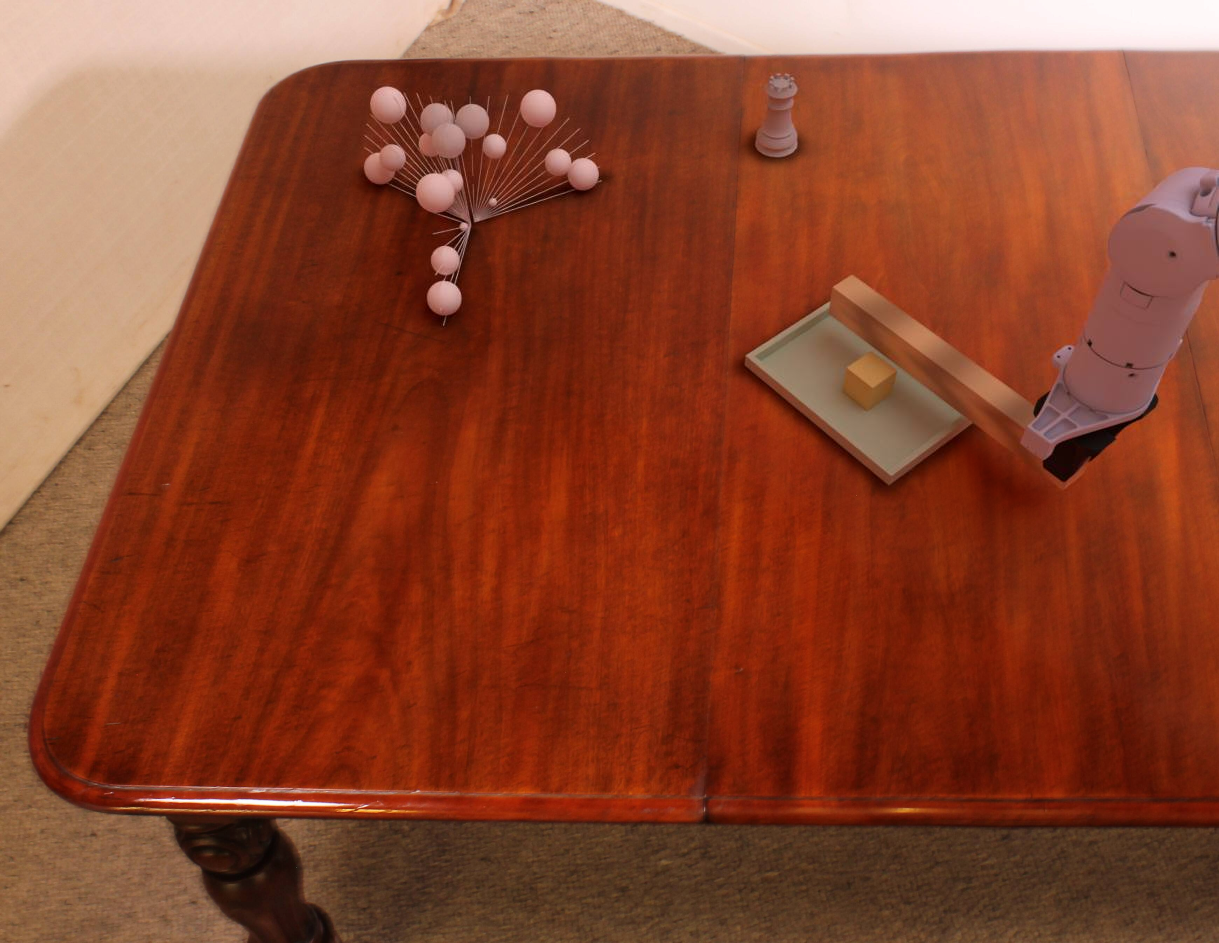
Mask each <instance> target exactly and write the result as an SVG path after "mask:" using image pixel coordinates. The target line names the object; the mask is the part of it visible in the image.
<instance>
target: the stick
mask: <svg viewBox="0 0 1219 943" xmlns="http://www.w3.org/2000/svg"><path fill="white" fill-rule="evenodd" d="M829 301H830V306H829V312H828V313H829V314H830V315H831V316H832V317H834V318H835V319H836V320H838V321H839V322H840V323H842V324H843V325H844V326H846V327H847V328H848V329H850V330H851V331H852V332H854V333H855V334H856V335H857V336H859V337H860V338H861V339H863V340H864V341H865V342H867V343H868V344H869V345H871V346H872V347H873V348H875V349H876V350H877V351H879V352H880V353H881V354H883V355H884V356H885V357H887V358H888V359H889V360H891V361H892V362H893V363H894V364H896V365H897V366H898V367H900V368H901V369H902V370H904V371H905V372H906V373H908V374H909V375H910V376H912V377H913V378H914V379H916V380H917V381H918V382H920V383H921V384H922V385H924V386H925V387H926V388H928V389H929V390H930V391H931V392H933V393H934V394H935V395H937V396H938V397H939V398H941V399H942V400H943V401H945V402H946V403H947V404H949V405H950V406H951V407H953V408H954V409H955V410H957V411H958V412H959V413H961V414H962V415H963V416H965V417H966V418H967V419H968V420H970V421H971V422H972V424H974V425H975V426H976V427H978V428H979V429H980V430H982V431H983V432H984V433H986V434H987V435H988V436H989V437H991V438H992V439H993V440H995V441H996V442H997V443H999V444H1000V445H1001V446H1002V447H1004V448H1005V449H1007V450H1008V451H1009V452H1010V453H1012V454H1013V455H1015V456H1016V457H1017V458H1018V459H1020V460H1021V461H1022V462H1024V463H1025V464H1026V465H1028V467H1031V468H1032V469H1033V470H1035V471H1036V472H1037V473H1038V474H1040V475H1041V476H1042V477H1044V478H1045V479H1046V480H1048V481H1049V482H1050V483H1052V484H1053V485H1054V486H1055V487H1057V488H1058V489H1060V490H1061V491H1064V490H1066V489H1067V488H1068V487H1069V486H1070V485H1072V484H1073V483H1074V482H1075V481H1077V480H1078V479H1079V478H1080V477H1082V476H1083V474H1084V473H1085V470H1086V469H1087V467H1088V465H1089V463H1090V462H1089V460H1090V458H1091V457H1089V458H1088V459H1087V460H1086V461H1085V463H1084V464H1083V465H1082V467H1081V468H1080V469H1079V470H1078V471H1077V472H1076V473H1075V474H1074V475H1073V476H1072V477H1071V478H1069V479H1068V480H1067V481H1066V482H1062V481H1060V480H1059V479H1058V478H1056V477H1055V476H1054V475H1052V474H1051V473H1050V472H1048V471H1047V470H1046V469H1044V468H1043V460H1041V459H1040V458H1039V457H1037V456H1036V455H1034V454H1033V453H1032V452H1030V451H1029V450H1028V449H1027V448H1025V447H1024V446H1023V445H1021V444H1020V442H1021V439H1022V437H1023V434H1024V432H1025V430H1026V427H1027V426H1028V425H1029V424H1030V423H1031V422H1032V421H1033V420H1034V419H1035V416H1034V414H1033V411H1034V407H1035V405H1034V404H1033V403H1031V402H1030V401H1029V400H1027V399H1026V398H1024V397H1023V396H1021V395H1020V394H1019V393H1018V392H1017V391H1014V390H1013V389H1012V388H1011V387H1009V386H1008V385H1006V384H1005V383H1003V382H1002V381H1001V380H1000V379H998V378H997V377H995V376H994V375H993V374H991V373H989V371H987V370H985V369H984V368H983V367H981V366H980V365H978V364H977V363H976V362H974V361H973V360H972V359H970V358H969V357H967V356H966V355H964V354H963V353H962V352H961V351H959V350H958V349H956V348H955V347H954V346H952V345H951V344H949V343H948V342H947V341H945V340H944V339H942V338H941V337H940V336H938V335H937V334H935V333H934V332H933V331H931V330H930V329H929V328H928V327H925V326H924V325H923V324H921V323H920V321H919V322H918V321H917V320H916V319H914V318H913V317H912V316H910V315H909V314H908V313H906V312H905V311H904V310H902V309H900V308H899V307H898V306H897V305H895V304H894V303H892V302H891V301H890V300H889V299H888V298H886V297H884V296H883V295H881V294H880V293H879V292H877V291H876V290H874V289H873V288H872V287H871V286H869V285H868V284H866V283H865V282H864V281H862V280H861V279H859V278H858V277H857V276H855V275H854V274H851V275H849V276H847V277H846V278H844V279H843V280H841V281H840V282H838V283H837V284H835V285H833V286H832V288H831V294H830V299H829ZM1088 462H1089V463H1088Z"/></svg>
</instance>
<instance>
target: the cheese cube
mask: <svg viewBox="0 0 1219 943" xmlns="http://www.w3.org/2000/svg"><path fill="white" fill-rule="evenodd" d="M896 374H897V370H896V369H895V368H893V367H892V366H891V365H889V364H888V363H887V362H886V361H884V360H883V359H882V358H880V357H879V356H878V355H876V354H875V353H874V352H872V351H871V352H869V353H868V354H866V355H865V356H863V357H862V358H860V359H859V360H857V361H856V362H854V363H853V364H851V365H850V366H848V367H847V369H846V374H845V379H844V385H843V390H842V391H843V392H844V393H846V394H847V395H848V396H849V397H851V398H852V399H853V400H854V401H856V402H857V403H858V404H859V405H861V406H862V407H863V408H865V409H866V410H867V411H868V410H869V409H871V408H872V407H874V406H875V405H877V404H878V403H879V402H881V401H882V400H884V399H885V398H886V397H888V396H889V395H891V394H892V391H893V387H894V383H895V379H896Z"/></svg>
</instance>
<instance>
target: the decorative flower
mask: <svg viewBox="0 0 1219 943" xmlns="http://www.w3.org/2000/svg"><path fill="white" fill-rule="evenodd" d="M415 94H416V95H417V98H418V101H419V104H420V106H421V109H422V112H421V114H420V121H419V118H418V117H417V114H416V113H415V111H414V109H413V107H412V105H411V103H410V101H409V99H408V97H407V94H406V93H405V92H403V93H402V92H401V91H399V89H397V88H395V87H392V86H382V87H380V88H378V89H377V90H375V91H374V92H373V93H372V95H371V98H370V100H369V102H370V103H369V104H370V105H369V106H370V111H371V114H370V116H371V117H372V118H373V119H374V121H376V122H377V123H378V125H380V127H381V128H382V130H384V132H385V133H387V134H388V135H389V136H391V134H390V133H389V132H388V131H387V130H386V129H385V128H384V127H383V126H382V125H381V123H383V124H388V125H390V126H391V127H392V128H393V129H394V130H395V131H396V133H397V134H398V136H399V137H401V139H402V141H403V142H404V143H405V145H407V147H408V148H409V149H410V150H411V152H412V153H413V154H414V155H415V156H416V158H417V159H418V161H419V162H420V163H421V164H422V166H423V167H425V170H427V172H428V173H427V174H426V173H425V172H423V173H424V176H423V175H422V174H420V173H419V172H418V171H417V170H416V169H415V168H414V167H413V166H412V165H411V164H410V163H408V162H407V161H406V160H407V157H406V155H407V156H408V158H410V160H412V162H413V163H414V164H416V166H417V167H418V168H419V169H420V170H421V171H423V169H422V168H421V167H420V166H419V165H418V163H416V162H415V161H414V160H413V158H412V157H411V156H410V155H409V154H408V153H407V151H405V150H404V149H403V148H402V146H401V145H400V144H399V143H398V142H397V140H396V139H395V138H393V137H391V138H392V140H394V142H395V143H396V144H397V145H396V144H393V143H392V144H389V143H388V142H387V141H386V140H384V143H386V145H385V146H383V147H382V148H381V147H380V146H379V145H378V144H376V143H375V141H373V140H371V139H370V138H369V137H368V136H367V135H365V137H366V138H367V139H368V140H369V141H371V142H372V143H373V144H374V145H375V146H377V147H378V148H379V149H380V152H372V151H371V150H370V149H368V148H366V147H365V146H364V147H363V148H364V149H365V150H367V151H368V152H370V153H371V154H369V156H368V157H367V158H366V159H365V161H364V163H363V170H364V171H363V172H364V174H365V176H366V178H367V179H368V180H369V181H370V182H371V183H373V184H375V185H385V184H388V185H390V186H392V187H394V188H396V189H398V190H400V191H403V192H405V193H406V194H409V195H411V196H412V197H415V198H416V200H417V202H418V204H419V205H420V207H421V208H423V209H424V210H426V211H427V212H430V213H432V214H435V215H438V216H441V217H444V218H447V219H451V220H453V221H456V222H459V223H460V224H459V227H456V228H452V229H449V230H447V229H446V230H443V231H438V232H433V233H432V235H436V234H440V233H445V232H449V231H453V230H458V229H460V231H461V232H460V233H458V234H457V235H456V236H455V237H453V239H451V240H450V241H449V242H447V243H446V244H445V245H442V246H438V247H436V249H434V251H433V252H432V254H431V256H430V264H431V267H432V269H433V270H434V271H435V272H436V273H435V274H434V275H435V276H437V274H440V275H442V276H445V277H444V279H443V280H440V281H437V282H435V283H433V284H432V285H431V286H430V288H428V291H427V293H426V294H427V295H426V301H427V305H428V307H429V308H430V310H431V311H432V312H433V313H435V314H437V315H438V316H445V317H444V321H443V324H442V326H445V323H446V320H447V316H451V315H452V314H453V315H454V313H456V312H457V311H458V310H459V309H460V306H461V304H462V293H461V290H460V289H459V287H458V286H457V285H456V283H457V278H458V275H459V272H460V268H461V264H462V260H463V257H464V253H465V250H466V247H467V243H468V240H469V235H470V232H471V228H472V221H471V218H470V217H471V216H470V213H469V207H468V202H467V196H466V192H465V186H464V179H463V178H464V177H463V176H462V172H461V166H460V161H459V156H460V155H461V160H462V165H463V171H464V174H465V175H464V176H465V180H466V186H467V190H468V196H469V202H470V207H471V212H472V216H473V223H477V222H480V221H483V220H486V219H489V218H492V217H496V216H499V215H502V214H505V213H508V212H511V211H515V210H517V209H520V208H524V207H526V206H529V205H533V204H535V203H538V202H542V201H545V200H548V199H551V198H554V197H557V196H561V195H563V194H566V193H570V192H572V191H576V190H579V191H587V190H590V189H592V188H593V187H595V186H596V184H598V183H600V182H601V180H599V176H600V175H599V168H600V166H597V164H596V163H595V162H594V161H592V160H591V159H589V158H590V157H592V156H593V155H595V154H596V152H594V153H592V154H591V155H588V156H587V157H580V158H576V159H575V160H573V161H572V158H571V156H570V155H571V154H572V153H573V152H575V151H577V150H578V149H579V148H581V147H582V146H584V145H585V144H587V142H589V141H590V140H589V139H588V140H586V141H585V142H583V144H581V145H580V146H578V147H577V148H575V149H574V150H573V151H571V152H567V151H566V150H564V149H562V148H560V147H561V146H562V145H563V144H564V143H566V142H567V141H568V140H569V139H571V137H572V136H574V135H575V134H576V133H577V132H578V131H579V130H580V129H581V128H578V129H577V130H576V131H574V133H573V134H572V135H570V136H569V137H568V138H567V139H566V140H565V141H563V143H561V144H560V145H559V146H558V147H556V148H554V149H552V150H549V151H548V153H547V154H546V155H545V158H544V160H542V161H541V162H540V163H539V164H538V165H537V166H536V167H534V168H533V169H532V170H531V171H530V172H529V173H527V175H525V176H524V177H523V178H522V179H520V180H519V182H518V183H516V184H515V185H514V186H513V187H512V188H511V189H509V191H507V193H505V194H504V195H503V196H502V197H500V196H501V195H502V193H504V191H505V190H506V189H507V187H504V189H503V190H502V191H501V192H500V193H499V194H498V195H497V197H500V199H498V201H497V198H496V197H495V195H496V194H497V192H498V191H499V189H500V188H502V185H503V184H504V183H505V181H506V180H507V179H508V177H509V176H510V174H511V173H512V172H513V170H514V169H515V167H516V166H517V165H518V163H520V161H521V160H522V158H523V156H524V155H525V153H526V152H527V151H528V150H529V148H530V147H531V146H532V144H533V143H534V141H535V140H536V139H537V137H538V136H539V134H540V133H541V132H542V130H543V129H544V127H547V126H548V125H550V124H551V123H552V122H553V120H554V119H555V116H556V114H557V104H556V101H555V98H553V96H552V95H551V94H550V93H549V92H547V91H546V90H543V89H534V90H530V91H528V92H527V93H526V94H525V95H524V96H523V98H522V99H521V101H520V107H519V111H518V113H517V115H516V118H515V121H514V123H513V126H512V128H511V130H510V132H509V136H508V138H507V141H506V140H505V139H504V137H502V136H501V135H499V131H500V128H501V124H502V120H503V117H504V116H503V115H504V112H505V108H506V104H507V102H508V101H507V100H508V97H509V94H507V95H506V98H505V103H504V106H503V110H502V114H501V117H500V122H499V126H498V129H497V133H491V134H489V135H487V136H486V133H487V131H488V130H489V127H490V117H489V115H488V113H489V112H488V111H489V106H486V109H484V108H483V107H482V106H480V105H479V104H475V103H471V102H472V101H471V100H472V99H471V97H469V104H465V105H464V106H462V107H461V108H460V109H459V110H458V111H457V113H456V116H455V111H454V106H453V101H452V100H450V103H451V108H452V109H450V108H449V105H448V104H447V103H446V101H444V104H443V103H439V102H435V103H433V99H432V96H431V95H429V98H430V102H431V104H428V105H427V106H425V107H423V105H422V102H421V99H420V97H419V95H418V93H417V92H416V93H415ZM405 98H406V99H407V101H406V99H405ZM407 102H408V105H409V106H410V108H411V111H412V112H413V114H414V116H415V118H416V120H417V122H418V124H419V126H420V128H421V130H422V132H423V134H422V135H421V136H419V135H418V133H417V132H416V129H415V128H414V127H413V125H412V122H410V120H409V119H408V117H407V115H406V111H407ZM489 103H490V97H488V99H487V105H489ZM451 110H452V111H451ZM520 114H521V117H522V119H523V120H524V122H525V123H526V124H528V125H527V127H526V129H525V131H524V132H523V133H522V135H521V138H520V139H519V142H518V143H517V145H516V147H515V148H514V150H513V152H512V154H511V155H510V157H509V159H508V160H507V163H506V164H505V166H504V168H503V169H502V171H501V173H500V175H499V177H498V179H497V181H496V182H495V184H494V186H493V187H492V190H491V191H490V193H489V195H488V196H487V193H488V191H489V188H490V186H491V183H492V181H493V179H494V176H495V174H496V171H497V168H498V166H499V164H500V161H501V159H502V157H503V156H504V155H505V153H506V151H507V145H508V142H509V139H510V137H511V135H512V132H513V129H514V127H515V125H516V123H517V120H518V118H519V116H520ZM404 116H405V118H406V120H407V121H408V123H409V125H410V126H411V128H412V129H413V131H414V133H415V134H416V136H417V138H418V146H417V144H416V143H415V141H414V140H413V139H412V137H411V136H410V134H409V133H408V131H407V130H406V128H405V127H404V125H403V124H402V123H401V120H402V119H403V118H404ZM568 120H570V117H568V118H567V120H565V121H564V123H563V124H561V126H560V127H559V128H558V129H557V131H555V132H554V134H552V136H551V137H550V138H549V139H548V140H547V142H549V141H550V140H551V139H552V138H553V137H554V136H555V135H556V134H557V133H558V131H559V130H560V129H561V128H562V127H563V126H564V125H565V124H566V123H567V122H568ZM395 123H399V124H400V126H401V127H402V129H403V130H404V131H405V133H407V134H406V135H408V137H409V139H410V140H411V141H412V143H413V144H414V145H415V147H416V148H417V150H418V151H419V152H420V154H421V155H422V157H423V159H424V160H425V161H426V163H427V164H428V166H429V167H430V169H432V172H433V173H432V172H431V171H429V169H428V168H427V167H426V165H425V164H424V163H423V161H421V159H420V158H419V157H418V156H417V154H416V152H414V150H413V149H412V148H411V147H410V145H409V144H408V143H407V142H406V141H405V140H404V138H403V137H402V136H401V134H400V133H399V131H398V130H397V129H396V128H395V127H394V125H392V124H395ZM366 126H368V127H369V128H370V129H371V130H372V131H374V133H375V134H376V135H377V136H378V137H379V138H381V136H380V134H378V133H377V132H376V131H375V130H374V129H373V128H372V127H371V126H370V125H369V124H368V123H366ZM529 126H530V127H533V128H541V129H540V130H539V132H538V133H537V134H536V136H535V137H534V139H533V140H532V141H531V143H530V144H529V146H528V147H527V148H526V149H525V152H523V154H522V155H521V157H520V158H519V159H518V161H517V163H516V164H515V165H514V167H513V168H512V169H511V171H509V173H508V174H507V176H506V178H505V179H504V180H503V182H501V184H500V186H499V187H498V188H497V190H496V191H495V193H494V194H493V195H492V197H491V194H492V193H493V191H494V189H495V188H496V186H497V183H498V182H499V180H500V178H501V176H502V174H504V172H505V169H506V168H507V165H508V164H509V163H510V160H511V159H512V157H513V155H514V153H515V151H516V150H517V148H518V146H519V144H520V142H521V141H522V139H523V137H524V136H525V134H526V132H527V130H528V128H529ZM482 137H483V141H482V144H481V145H482V151H481V157H484V156H483V155H484V154H485V156H487V157H488V158H489V164H488V167H487V172H486V175H485V178H484V179H485V180H484V183H483V188H482V191H481V194H480V199H479V202H478V201H476V202H475V190H474V189H475V188H474V185H472V197H473V198H472V199H473V201H472V200H471V195H470V189H469V184H468V178H467V174H466V169H465V163H464V159H463V152H464V150H465V148H466V142H467V141H466V139H469V140H470V143H471V146H473V140H478V139H479V138H482ZM546 145H547V143H545V144H544V145H542V147H541V148H540V149H539V150H538V151H537V153H540V151H541V150H542V149H543V148H544V147H545V146H546ZM536 156H537V154H534V156H533V157H532V158H531V159H530V160H529V161H528V162H527V164H530V162H531V161H532V160H533V159H534V158H535V157H536ZM426 157H429V158H430V159H431V161H432V163H433V165H434V166H435V168H436V170H434V169H433V168H432V166H431V165H430V163H429V161H428V160H427V159H426ZM433 157H436V160H437V162H438V164H439V166H440V168H441V170H442V172H440V170H439V168H438V167H437V165H436V163H435V162H434V160H433V159H432V158H433ZM438 157H439V158H438ZM473 158H474V156H473V155H471V168H472V169H471V171H472V173H471V174H472V175H474V163H473V162H474V161H473ZM439 159H440V160H439ZM445 159H447V160H448V162H449V166H450V168H451V169H450V168H448V165H447V163H446V161H445ZM451 159H453V161H454V166H455V169H456V170H455V169H454V168H453V164H452V162H451ZM492 159H493V160H497V159H499V160H498V163H497V165H496V167H495V170H494V172H493V175H492V178H491V180H490V181H489V184H488V187H487V189H486V192H485V195H484V197H483V192H484V189H485V184H486V181H487V178H488V174H489V169H490V166H491V162H492ZM440 161H441V163H442V164H441V163H440ZM406 162H407V165H408V166H409V167H411V168H412V169H413V170H414V171H415V172H416V173H417V174H418V175H419V176H420V177H421V178H420V179H418V178H417V177H416V176H415V175H414V174H412V173H411V172H410V171H409V170H408V169H406V168H405V167H404V166H405V164H406ZM482 162H483V158H481V160H480V165H482V164H483V163H482ZM543 163H544V166H545V169H546V170H545V171H543V172H542V173H541V174H539V175H538V176H536V177H535V178H533V179H532V180H531V181H529V182H528V183H526V184H525V185H524V186H522V187H521V188H519V189H518V190H517V191H515V192H513V194H511V195H510V196H508V197H506V198H505V199H504V200H503V201H501V202H500V200H502V199H503V198H504V197H505V196H506V195H507V194H509V192H511V191H512V190H513V189H514V188H516V187H517V186H518V184H521V182H523V180H524V179H525V178H527V176H529V175H530V174H531V173H532V172H534V170H535V169H536V168H538V167H539V166H540V165H542V164H543ZM526 167H527V165H525V166H523V168H522V169H520V171H519V172H518V173H517V175H519V174H520V173H522V171H523V170H524V169H525V168H526ZM401 169H404V170H406V171H407V172H408V174H410V175H412V177H414V178H415V179H416V180H418V182H417V183H416V182H415V181H413V180H411V179H410V178H409V177H407V176H406V175H405V174H403V173H402V172H400V170H401ZM479 170H480V171H479V174H481V173H482V167H480V169H479ZM437 171H438V172H437ZM396 172H398V173H399V174H401V175H402V176H404V178H406V179H408V180H409V181H410V182H412V183H413V184H415V185H416V189H415V188H414V187H411V186H410V185H408V184H406V183H405V182H403V181H402V180H400V179H398V178H396V177H395V174H396ZM547 172H548V173H549V174H550V175H553V176H552V177H550V178H548V179H546V180H545V181H543V182H542V183H540V184H538V185H536V186H535V187H533V188H531V189H529V190H527V191H526V192H524V193H522V194H521V195H519V196H517V197H515V198H514V199H512V200H510V201H508V202H507V203H505V204H503V205H501V204H502V203H504V202H505V201H507V200H508V199H509V198H511V197H512V196H514V195H515V194H516V193H518V192H519V191H521V190H522V189H523V188H525V187H527V186H528V185H529V184H530V183H532V182H533V181H535V180H536V179H537V178H538V177H539V178H540V176H541V175H543V174H545V173H547ZM566 174H567V180H566V181H564V182H561V183H558V184H556V185H554V186H553V187H550V188H548V189H545V190H544V191H541V192H538V193H537V194H535V195H533V196H529V197H528V198H525V199H523V200H520V201H518V202H516V203H514V204H511V205H509V206H506V205H508V204H509V203H511V202H513V201H515V200H516V199H518V198H520V197H522V196H524V195H525V194H527V193H529V192H531V191H532V190H534V189H535V188H537V187H540V186H541V185H543V184H544V183H546V182H548V181H550V180H551V179H553V178H555V177H563V176H564V175H566ZM393 178H394V179H395V180H398V181H399V182H400V183H402V184H403V185H405V186H407V187H409V188H411V189H412V190H414V191H415V195H414V194H412V193H410V192H407V191H405V190H403V189H401V188H399V187H397V186H395V185H393V184H391V183H390V181H392V179H393ZM516 178H517V176H515V177H514V178H513V179H512V180H510V182H509V183H508V184H507V186H509V185H510V184H512V183H513V181H514V179H516ZM480 180H481V175H479V178H478V182H480ZM568 182H569V184H570V185H571V186H572V187H573V189H571V190H568V191H565V192H561V193H559V194H555V195H553V196H549V197H547V198H543V199H540V200H537V201H534V202H531V203H529V204H524V205H521V206H519V207H516V208H513V209H509V210H506V209H508V208H511V207H512V206H516V205H517V204H520V203H521V202H524V201H527V200H528V199H531V198H532V197H533V198H534V197H535V196H537V195H540V194H542V193H545V192H547V191H548V190H551V189H554V188H555V187H558V186H560V185H563V184H565V183H568ZM479 188H480V184H478V186H477V191H479ZM461 192H462V194H461ZM462 195H463V196H462ZM486 196H487V198H486V201H485V197H486ZM482 197H483V199H482ZM490 197H491V198H490ZM478 198H479V193H477V194H476V200H478ZM481 200H482V202H481ZM484 201H485V202H484ZM472 202H473V203H475V208H477V209H476V210H474V208H473V205H472ZM498 202H500V203H499V204H498ZM483 203H484V204H483ZM486 203H487V204H486ZM480 204H481V205H480ZM485 205H486V206H485ZM500 205H501V206H500ZM453 206H455V207H453ZM498 206H499V207H498ZM504 206H506V207H505V208H503V209H500V208H502V207H504ZM489 207H490V208H489ZM499 209H500V210H499ZM497 210H498V211H497ZM503 210H506V211H503ZM502 211H503V212H502ZM442 212H447V213H448V214H450V215H453V216H455V217H457V218H459V219H460V220H459V219H455V218H453V217H452V218H451V217H449V216H446V215H442V214H440V213H442ZM499 212H500V213H499ZM461 219H462V220H464V221H465V222H463V221H461ZM463 233H464V234H463ZM461 234H463V235H462V237H461V238H460V240H459V241H458V242H457V244H455V246H454V247H451V246H448V245H449V244H450V243H452V242H453V241H454V240H455V239H456V238H457V237H459V236H460V235H461ZM462 239H463V240H462ZM461 241H462V242H461ZM460 242H461V245H460V246H459V248H458V250H456V248H457V246H458V245H459V243H460ZM462 245H463V246H462ZM461 247H462V248H461ZM460 250H461V252H460V254H459V251H460ZM460 258H461V259H460ZM456 271H457V274H456V277H455V281H454V283H453V282H452V280H453V278H454V275H455V272H456ZM449 275H452V276H451V278H450V281H447V280H446V278H447V276H449Z"/></svg>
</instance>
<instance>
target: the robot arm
mask: <svg viewBox="0 0 1219 943" xmlns="http://www.w3.org/2000/svg"><path fill="white" fill-rule="evenodd" d="M1107 253H1108V258H1109V261H1110V263H1111V264H1110V267H1109V268H1108V269H1107V271H1106V273H1105V274H1104V277H1103V279H1102V282H1101V283H1100V287H1099V288H1098V291H1097V293H1096V296H1095V298H1094V301H1093V302H1092V304H1091V308H1090V309H1089V312H1088V314H1087V317H1086V319H1085V320H1084V324H1083V327H1082V329H1081V331H1080V333H1079V336H1078V338H1077V341H1076V343H1075V345H1074V346H1073V345H1072V344H1067V345H1064V346H1062V347H1061V348H1060V349H1059V350H1057V351H1056V352H1054V353H1053V354H1052V357H1051V359H1050V364H1051V365H1052V367H1054V369H1056V370H1058V375H1057V378H1056V379H1055V381H1054V383H1053V385H1052V387H1051V389H1050V390H1049V391H1047V392H1046V393H1045V394H1043V395H1042V396H1041V397H1039V398H1038V399H1037V400H1036V403H1035V405H1034V406H1035V407H1034V411H1033V414H1034V416H1035V419H1034V420H1033V421H1032V422H1031V423H1030V424H1029V425H1028V426H1027V427H1026V430H1025V432H1024V434H1023V437H1022V439H1021V442H1020V444H1021V445H1023V446H1024V447H1025V448H1027V449H1028V450H1029V451H1030V452H1032V453H1033V454H1034V455H1036V456H1037V457H1039V458H1040V459H1041V460H1043V468H1044V469H1046V470H1047V471H1048V472H1050V473H1051V474H1052V475H1054V476H1055V477H1056V478H1058V479H1059V480H1060V481H1062V482H1066V481H1067V480H1068V479H1069V478H1071V477H1072V476H1073V475H1074V474H1075V473H1076V472H1077V471H1078V470H1079V469H1080V468H1081V467H1082V465H1083V464H1084V463H1085V461H1086V460H1087V459H1088V458H1089V457H1091V458H1090V460H1089V462H1088V464H1089V463H1090V462H1092V461H1093V460H1094V459H1096V458H1097V457H1098V456H1099V455H1101V453H1102V452H1104V450H1105V449H1107V448H1108V447H1109V446H1110V445H1111V444H1112V443H1114V442H1115V441H1117V436H1118V435H1119V434H1120V433H1121V432H1122V431H1124V429H1125V428H1127V427H1128V426H1130V425H1132V424H1134V423H1137V422H1138V421H1141V420H1142V419H1144V418H1145V417H1146V416H1147V415H1149V414H1150V413H1151V412H1153V411H1154V410H1155V409H1156V408H1157V406H1158V404H1159V396H1158V395H1157V394H1156V391H1157V390H1158V389H1157V388H1158V387H1159V384H1160V383H1161V379H1162V377H1163V375H1164V373H1165V370H1166V368H1167V366H1168V364H1169V363H1170V362H1171V361H1172V360H1173V359H1174V358H1175V356H1176V355H1177V353H1178V351H1179V349H1180V347H1181V345H1182V343H1183V342H1184V339H1182V338H1183V336H1184V334H1185V332H1186V330H1187V329H1188V327H1189V325H1190V323H1191V321H1192V320H1193V317H1194V316H1195V314H1196V312H1197V310H1198V308H1199V307H1200V304H1201V302H1202V299H1203V296H1204V292H1205V291H1206V289H1207V286H1208V285H1209V283H1210V281H1217V280H1218V279H1219V168H1217V169H1213V168H1210V167H1205V166H1204V167H1203V166H1189V167H1183V168H1181V169H1178V170H1175V171H1174V172H1172V173H1170V174H1168V176H1166V177H1165V178H1164V179H1162V181H1160V182H1159V183H1158V184H1156V185H1155V187H1154V188H1152V189H1151V190H1150V191H1149V192H1148V193H1147V194H1146V195H1144V197H1142V198H1141V199H1140V200H1139V201H1138V202H1137V203H1135V204H1134V205H1133V206H1132V207H1131V208H1129V210H1127V211H1126V212H1125V213H1124V214H1123V215H1122V216H1121V217H1120V219H1119V220H1118V221H1117V222H1116V223H1115V225H1114V226H1113V227H1112V229H1111V231H1110V233H1109V236H1108V240H1107Z"/></svg>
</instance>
